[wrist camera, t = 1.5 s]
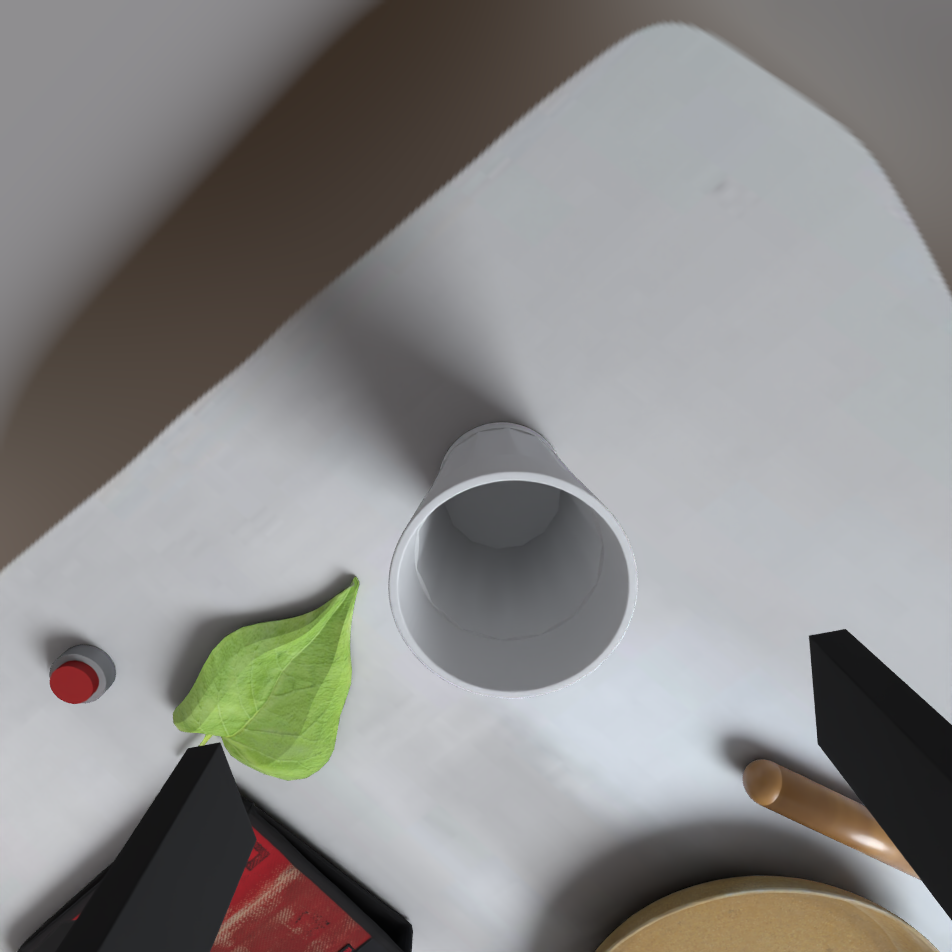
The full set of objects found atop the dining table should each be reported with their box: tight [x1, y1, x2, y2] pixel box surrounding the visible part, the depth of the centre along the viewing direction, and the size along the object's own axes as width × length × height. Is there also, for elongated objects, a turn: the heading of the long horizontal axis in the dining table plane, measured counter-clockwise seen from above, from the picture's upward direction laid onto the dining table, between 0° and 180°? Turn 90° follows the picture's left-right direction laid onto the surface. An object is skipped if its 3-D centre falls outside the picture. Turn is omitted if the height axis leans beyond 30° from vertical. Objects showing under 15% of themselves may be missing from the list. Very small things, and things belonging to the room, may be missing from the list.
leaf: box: [173, 576, 359, 781], centre depth 34 cm, size 9×16×2 cm, turn 134°
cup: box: [389, 422, 638, 698], centre depth 26 cm, size 8×8×12 cm
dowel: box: [743, 759, 921, 880], centre depth 36 cm, size 14×2×2 cm, turn 62°
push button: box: [49, 645, 116, 704], centre depth 34 cm, size 3×3×2 cm
